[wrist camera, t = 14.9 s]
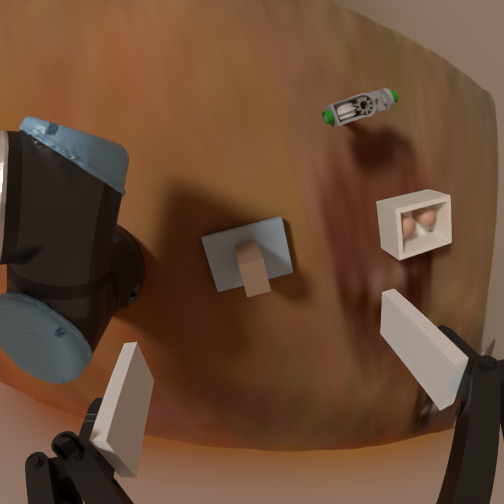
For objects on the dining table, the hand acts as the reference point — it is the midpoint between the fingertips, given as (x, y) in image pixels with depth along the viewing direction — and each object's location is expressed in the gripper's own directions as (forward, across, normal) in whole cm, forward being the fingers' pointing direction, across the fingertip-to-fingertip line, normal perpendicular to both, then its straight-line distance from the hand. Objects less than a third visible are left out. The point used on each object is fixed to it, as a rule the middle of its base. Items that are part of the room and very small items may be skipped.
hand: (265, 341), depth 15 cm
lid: (+30, +1, -6) cm, 31 cm away
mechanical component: (+31, +17, +13) cm, 38 cm away
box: (+31, +28, -5) cm, 42 cm away
